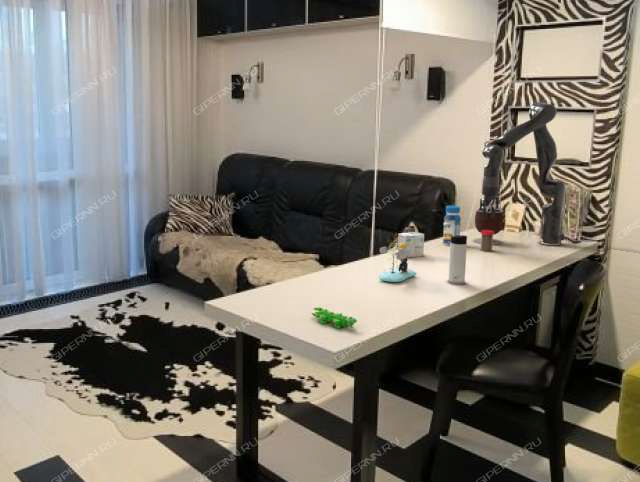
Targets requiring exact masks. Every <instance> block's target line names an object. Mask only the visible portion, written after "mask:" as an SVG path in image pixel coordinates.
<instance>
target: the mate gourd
mask: <svg viewBox="0 0 640 482" xmlns="http://www.w3.org/2000/svg"><path fill="white" fill-rule="evenodd" d="M490 211H491V208H489V209H488V211H487V220H484V219H482V211H480V207H479V208H476V211H475V215H474V226H475V229H476V230H477V232H478V233H480V234H481V230H492V231H494V235H496V234H499V233H500V232H501V230H502V229H503V225H504V210H503V209H500V208H498V209H496V210H495V218H491V217H490ZM474 240H475V243H478V244H481V240H482V237H480V238H476V239H474ZM500 244H501V240H499V239H495V238H493V245H492V246H494V245H500Z"/></svg>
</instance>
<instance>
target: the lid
mask: <svg viewBox="0 0 640 482" xmlns="http://www.w3.org/2000/svg"><path fill="white" fill-rule="evenodd" d="M480 235H481V236H482V235H493V236H494V235H495V234H494V231H492V230H481V233H480Z"/></svg>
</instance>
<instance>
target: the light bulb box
mask: <svg viewBox="0 0 640 482" xmlns="http://www.w3.org/2000/svg"><path fill="white" fill-rule="evenodd" d="M397 237H398V238H397V239H398V240H397V246H398V245H400V244H402V243H403V244H404V243H406V244H407V245H406V247H407V249H409V252H410V253H411V254H410V255H408V256H407V257H408V258H413V257H415V258H416V257H424V253H425V252H424V251H425V250H424V249H425V233H421V232H418V231H413V232H412V231H411V232H402V233H398V236H397ZM398 251H399V250H398V249H397V252H398Z"/></svg>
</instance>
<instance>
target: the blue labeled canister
mask: <svg viewBox="0 0 640 482" xmlns="http://www.w3.org/2000/svg"><path fill="white" fill-rule="evenodd" d="M460 211H461V207H460V206H459V205H446V206H445V213H446V214H445V216H444V217H443V221H444V222H443V236H442V237H443V238H442V244H443V245H445V246H449V247H450V244H451V243H450V242H451V236H457V235H461V226H462V225H461V221H462V219H461V216H460Z"/></svg>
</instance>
